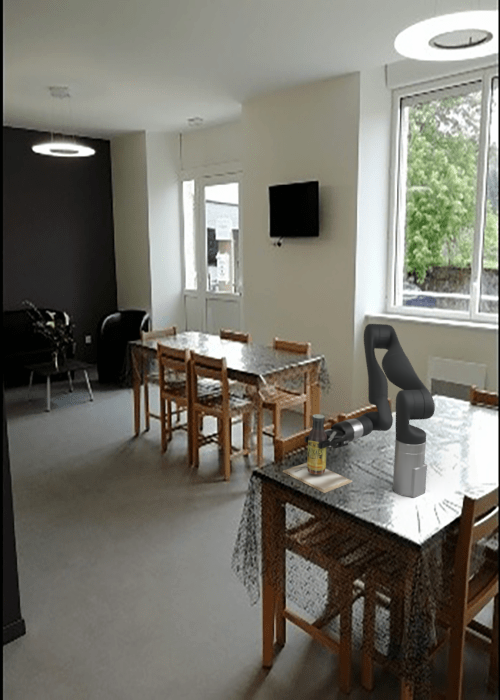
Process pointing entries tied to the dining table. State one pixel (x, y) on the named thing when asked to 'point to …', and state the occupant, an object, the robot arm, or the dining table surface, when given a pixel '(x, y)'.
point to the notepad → (317, 478)
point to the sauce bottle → (316, 446)
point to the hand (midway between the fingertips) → (312, 442)
